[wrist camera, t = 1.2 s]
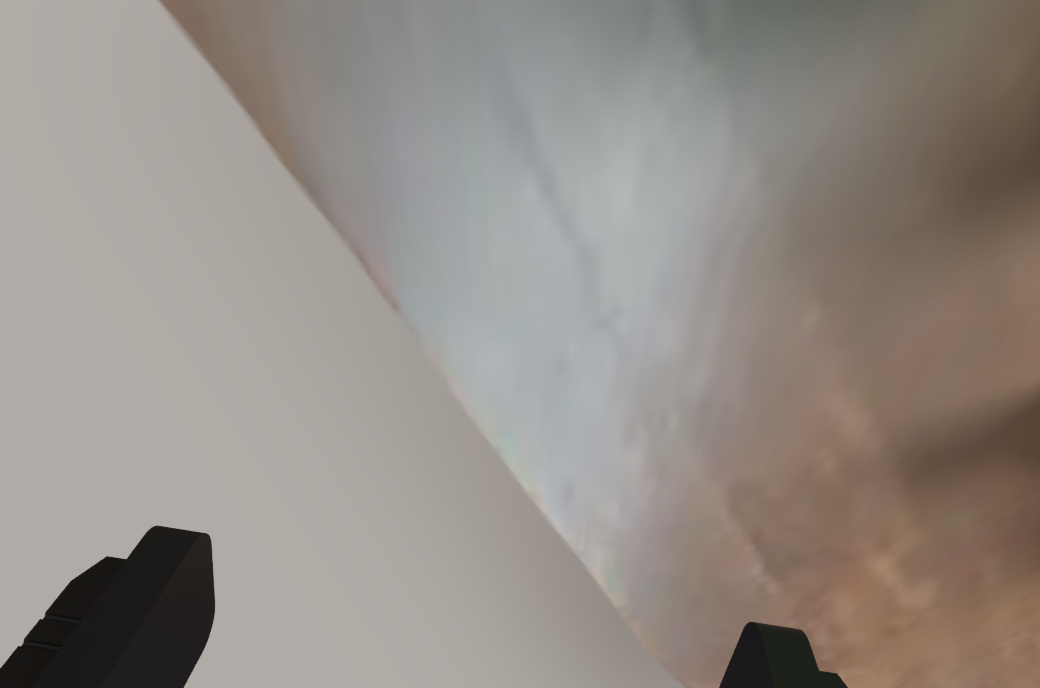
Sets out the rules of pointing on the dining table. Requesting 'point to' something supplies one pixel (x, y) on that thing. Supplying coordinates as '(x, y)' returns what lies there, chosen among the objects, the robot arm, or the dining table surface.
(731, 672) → the robot arm
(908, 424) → the dining table surface
